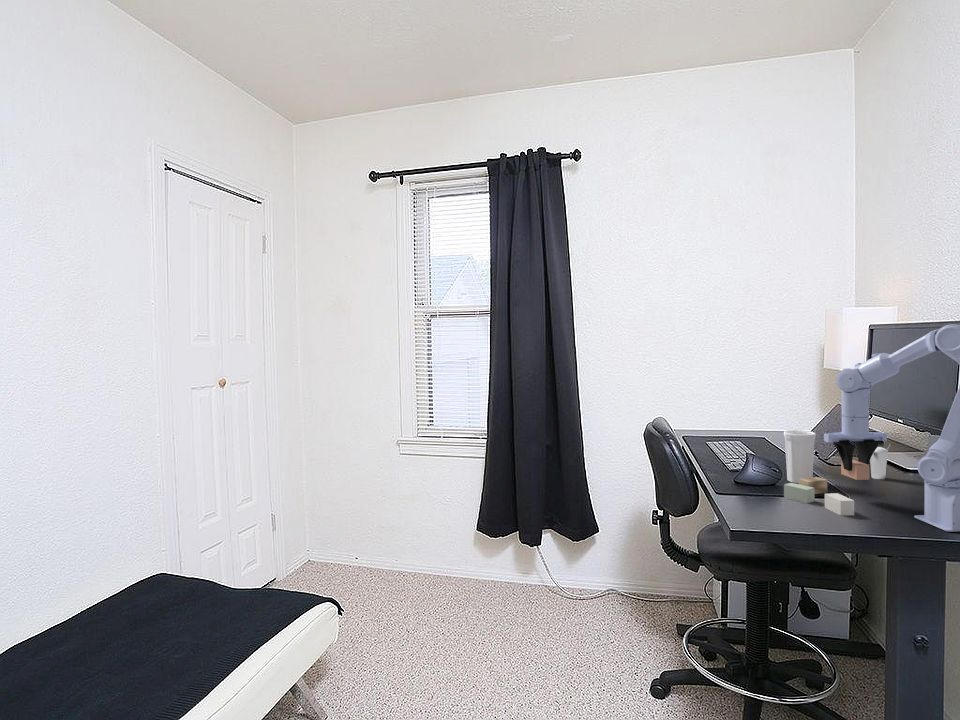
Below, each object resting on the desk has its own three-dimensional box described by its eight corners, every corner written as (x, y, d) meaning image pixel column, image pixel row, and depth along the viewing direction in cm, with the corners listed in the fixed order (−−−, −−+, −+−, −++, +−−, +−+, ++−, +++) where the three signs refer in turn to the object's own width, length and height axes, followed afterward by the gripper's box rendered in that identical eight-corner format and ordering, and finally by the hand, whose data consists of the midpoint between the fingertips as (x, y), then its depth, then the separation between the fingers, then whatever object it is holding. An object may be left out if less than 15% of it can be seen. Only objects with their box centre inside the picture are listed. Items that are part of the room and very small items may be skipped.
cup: (786, 485, 157) (786, 434, 156) (781, 477, 164) (780, 429, 164) (819, 486, 154) (819, 435, 154) (812, 479, 162) (812, 430, 161)
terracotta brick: (869, 479, 138) (869, 465, 138) (856, 479, 138) (856, 465, 138) (853, 473, 144) (853, 459, 144) (841, 473, 144) (841, 460, 144)
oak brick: (817, 490, 152) (817, 477, 151) (827, 493, 148) (827, 479, 148) (798, 492, 150) (798, 478, 150) (808, 495, 147) (808, 481, 147)
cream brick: (854, 515, 130) (854, 500, 130) (840, 516, 130) (840, 500, 130) (837, 507, 136) (837, 493, 136) (824, 508, 136) (824, 493, 136)
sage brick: (814, 501, 142) (814, 487, 142) (807, 503, 140) (807, 489, 140) (791, 496, 147) (791, 482, 147) (784, 498, 145) (783, 484, 145)
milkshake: (894, 480, 158) (894, 445, 158) (873, 480, 159) (873, 445, 159) (886, 476, 163) (886, 442, 162) (865, 475, 164) (865, 442, 163)
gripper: (873, 413, 144) (873, 465, 145) (816, 414, 144) (817, 466, 145) (893, 417, 137) (893, 471, 138) (833, 418, 137) (833, 473, 138)
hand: (855, 469), depth 141 cm, fingers closed on terracotta brick, 3 cm apart
